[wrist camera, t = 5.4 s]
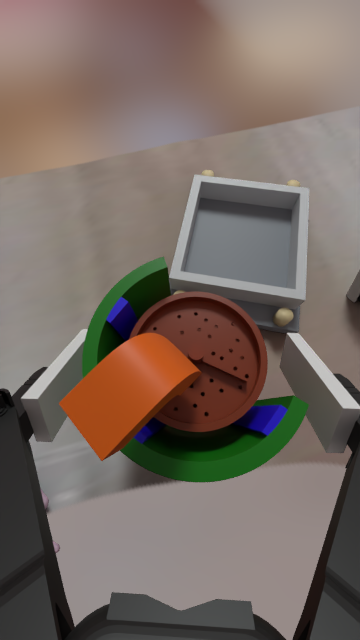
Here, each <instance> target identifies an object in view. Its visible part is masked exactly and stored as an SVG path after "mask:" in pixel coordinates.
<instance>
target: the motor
mask: <svg viewBox="0 0 360 640" xmlns="http://www.w3.org/2000/svg"><path fill="white" fill-rule="evenodd" d="M82 374H83V379H82V380H81V381H80V382H79V383H78V384H77V385H76V386H75V387H74V388H73V389H72V390H71V391H70V392H69V393H68V394H67V395H66V396H65V397H64V398H63V399H62V400H61V401H60V402H59V405H60V406H61V407H62V409H63V410H64V411H65V413H66V414H67V415H68V417H69V418H70V419H71V421H72V422H73V423H74V425H75V426H76V427H77V429H78V430H79V431H80V433H81V434H82V435H83V437H84V438H85V439H86V441H87V442H88V443H89V445H90V446H91V447H92V449H93V450H94V451H95V453H96V454H97V455H98V457H99V458H100V459H101V461H103V460H104V459H106V458H108V457H109V456H111V455H113V454H114V453H116V452H118V451H119V450H120V451H121V452H122V453H123V454H124V455H126V456H127V457H128V458H130V459H131V460H132V461H134V462H135V463H137V464H138V465H140V466H142V467H144V468H145V469H147V470H149V471H152V472H154V473H156V474H159V475H161V476H164V477H167V478H171V479H175V480H181V481H187V482H214V481H221V480H226V479H229V478H234V477H237V476H240V475H243V474H245V473H247V472H250V471H252V470H254V469H256V468H257V467H259V466H261V465H262V464H264V463H266V462H267V461H268V460H270V459H271V458H272V457H274V456H275V455H276V454H277V453H278V452H279V451H280V450H281V449H282V448H283V447H284V446H285V445H286V444H287V443H288V442H289V440H290V439H291V438H292V437H293V435H294V434H295V432H296V431H297V429H298V428H299V426H300V424H301V422H302V421H303V419H304V416H305V414H306V412H307V409H308V406H309V404H307V403H305V402H304V401H302V400H300V399H299V398H297V397H295V396H286V397H279V398H271V399H264V400H257V399H258V397H259V395H260V393H261V391H262V389H263V386H264V383H265V379H266V375H267V351H266V347H265V343H264V340H263V337H262V335H261V333H260V330H259V329H258V327H257V325H256V324H255V322H254V321H253V320H252V318H251V317H250V316H249V315H248V314H247V313H246V312H245V311H244V310H243V309H242V308H241V307H239V306H238V305H237V304H235V303H234V302H232V301H230V300H228V299H226V298H224V297H222V296H219V295H216V294H212V293H207V292H198V291H192V292H183V293H178V294H175V295H172V296H171V290H170V283H169V275H168V268H167V265H166V262H165V259H164V257H161V258H158V259H155V260H153V261H150V262H148V263H146V264H144V265H142V266H140V267H138V268H137V269H135V270H133V271H132V272H131V273H129V274H128V275H126V276H125V277H124V278H123V279H121V280H120V281H119V282H118V283H117V284H116V285H115V286H114V287H113V288H112V289H111V290H110V291H109V293H108V294H107V295H106V296H105V298H104V299H103V300H102V302H101V303H100V305H99V306H98V308H97V310H96V312H95V314H94V316H93V318H92V320H91V322H90V325H89V328H88V331H87V334H86V338H85V342H84V348H83V356H82ZM256 400H257V401H256Z"/></svg>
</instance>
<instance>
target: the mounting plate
mask: <svg viewBox="0 0 360 640" xmlns="http://www.w3.org/2000/svg"><path fill="white" fill-rule="evenodd" d="M308 211H309V188H304V187H300V183H299V182H298V181H296V180H290V181H288V183H287V185H279V184H270V183H262V182H253V181H245V180H236V179H228V178H220V177H214V173H213V172H212V171H211V170H205V171H203V172H202V175H194V179H193V183H192V187H191V191H190V195H189V199H188V203H187V207H186V211H185V215H184V220H183V224H182V228H181V232H180V236H179V240H178V244H177V248H176V252H175V256H174V260H173V264H172V268H171V272H170V276H169V283H170V290H171V296H172V295H175V294H178V293H183V292H192V291H198V292H207V293H212V294H216V295H219V296H222V297H224V298H226V299H228V300H230V301H232V302H234V303H235V304H237V305H238V306H239V307H241V308H242V309H243V310H244V311H245V312H246V313H247V314H248V315H249V316H250V317H251V318H252V320H253V321H254V322H255V324H256V325H257V327H258V329H264V330H270V331H275V332H281V333H286V334H287V333H298V332H299V315H300V305H301V304H302V303H303V302H304V301H305V297H306V269H307V240H308Z"/></svg>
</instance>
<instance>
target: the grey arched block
mask: <svg viewBox="0 0 360 640" xmlns="http://www.w3.org/2000/svg"><path fill="white" fill-rule="evenodd" d="M346 296H347V297H348V298H349V299H350V300H351V301H353V302H355V301H357V300H358V301H360V270H359V272H358V274H357V276H356V278H355V280H354V281H353V283H352V285H351V287H350V289H349V291H348V292H347V294H346Z"/></svg>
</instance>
